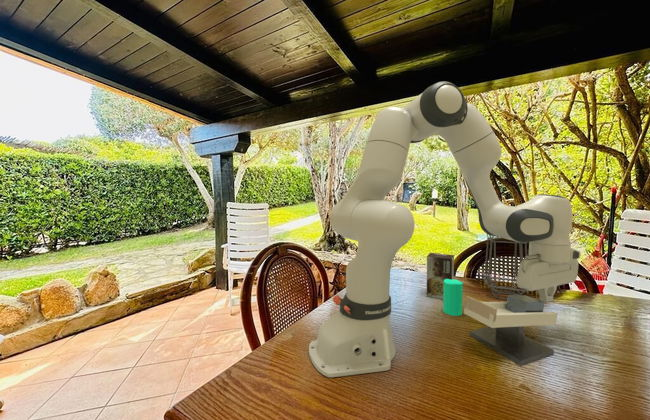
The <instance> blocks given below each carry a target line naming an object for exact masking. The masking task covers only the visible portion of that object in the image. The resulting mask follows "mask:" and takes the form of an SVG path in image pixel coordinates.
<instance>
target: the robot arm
mask: <svg viewBox="0 0 650 420" xmlns="http://www.w3.org/2000/svg"><path fill="white" fill-rule="evenodd" d="M436 135H438V136H439V137H441V138H442V139H443V140H445V143H446V145H447V147H448V149H449V151H450V153H451V154H452V156H453V159H454V160H455V162H456V164H457V166H458V167H459V169H460V171H461V174H462V176H463V180H464V181H465V185H466V187H467V188H468V191H469V192H470V193H469V194H470V196H471V198H472V199H473V201H474V204H475V207H476V209H477V213H478V222H479V223H478V224H479V226H480V228H481V230H482V231H483V232H484V233H485V234H486V235H487V234H488V236H489V235H491V237H492V236H494V237H498V238H505V239H506V240H509V241H511V242H515V241H516V242H528V254H527V256H526V257H523V260H522V262H521V263H520V262H519V265H518V271H517V274H516V280H517V281H516V286H518V287H517V288H520V289H521V290H523V289H525V290H528V291H527V292H533V291H537V292H538V295H539V296H538V297H539V299H538V300H540V301H543V302H544V303H548V302H553V301H554V295H555V294H556V291H557V288H558V286H562V285H566V284H571V283H575V282H576V280H577V278H578V273H579V272H578V271H579V259H580V258H581V251H580V250H577V249H575V248H573V247H572V246H571V244H572V243H571V242H572V241H571V238H570V233H571V231H572V229H573V209H572V203H571V201H570V200H569V199H568V198H567V197H565V196H561V195H556V194H547V193H545V194H544V193H539V194H535V195H534V196H533V197H532V198H531V199H529V200H527V201H525V202H524V203H521V204H518V205H516V206H512V205H506V204H504V202H502V201H501V200H500V198H499V197H498V194H497V193H496V190H495V187H494V185H493V184H492V181H491V172H492V170H493V169H494V168H495V167H496V166H497V164H498V163H499V161H500V159H501V157H502V148H501V145H500V141H499V139H498V137H497V135H496V134H495V131H494V130H493V129H492V127H491V125H490V123H489V122H488V121H487V119H486V117H484V115H483V114H482V113H481V111H479V109H478V108H477V107H476V106H475V105H474V104H472V103H471V102H467V99H466V98H465V95H464V93H463V91H461V89H460V88H459V87H458V86H456V85H455V84H454V83H452V82H450V81H445V80H443V81H438V82H436V83H434V84H432V85H430V86H428V87H427V88H425V90H424V91H423V92H422V93H420V94H418V96H417V97H414V98H413V100H412V99H411V101H410V102H409V103H408V104H407V106H405V108H401V107H399V106H388V107H385V108H383V109H382V110H381V111H379V112H378V113H377V115H376V117H375V119H374V121H373V124H372V126H371V128H370V131H369V134H368V136H367V140H366V143H365V146H364V150H363V154H362V157H361V160H360V164H359V167H358V170H357V172H356V175H355V177H354V179H353V181H352V183H351V185H350V186H349V188H348V189H347V191H346V193H345V195H344V196H343V197H342V198H341V199H340V201H338V202H337V203H336V204H334V206H333V207H332V208H331V210H330V215H329V223H330V226H331V228H332V230H333V231H334V232H336V233H337V234H338V235H340V236H341V237H343V238H345V239H348V240H352V241H356V242H358V243H357V250H356V255H355V256H354V258H353V259H351V260H350V261H348V262H347V264H346V268H345V286H346V287H345V291H346V292H345V293H344V296H343V298H342V297H340V295H336V294H335V295H334V296H333V298H332V300H333V302H334V304H335V305H337V306H339V309H338V310H337V311H336V312H335V313H333V314H332V316H330V317H329V318H327V319H326V320H325V321H324V322H323V323H322V324H321V325H320V327H319V328H318V332H317V338H316V339H315V340H312V341H310V343H309V345H308V356H309V359H310V361H311V363H312V365H313V367H315V369H316V371H318V372H319V373H320V374H321V375H323V376H325V377H326V378H335V377H336V378H337V377H345V376H354V375H360V374H361V375H362V374H368V373H369V374H370V373H371V374H372V373H378V372H385V371H389V370H390V369H391V367H392V361H393V360H394V358H395V356H396V353H397V352H396V351H397V350H396V346H395V343H394V338H393V333H392V327H391V326H392V325H391V313H392V297H391V295H390V286H391V285H390V284H391V283H390V282H391V269H392V264H393V261H394V259H395V257H396V255H397V253H398V251H399V250H400V249H401V248H403V246H405V245H407V244H408V243H409V241H410V240H411V239H412V237H413V235H414V231H415V227H416V226H415V218H414V214H413V213H412V211H411V209H409V207H407V206H405V205H403V204H400V203H397V202H394V201H391V200H384V199H385V198H386V197H387V195H388V194H389V193H390V192H391V191H392V190H393V189H395V188H396V187H398V185H400V183H401V181H402V180H403V179H402V178H403V175H404V170H405V167H406V163H407V162H406V161H407V158H408V154H409V151H410V146H411V144H418V143H421V142H423V141H425V140H426V139H429V138H431V137H433V136H436ZM526 259H527V260H526Z"/></svg>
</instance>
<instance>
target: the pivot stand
mask: <svg viewBox="0 0 650 420" xmlns="http://www.w3.org/2000/svg"><path fill="white" fill-rule="evenodd" d="M469 336H470V337H471V338H473V339H475V340H477V341H478V342H480V343H482V344H483V345H485V346H487V347H488V348H491V349H492V350H494V351H495V352H496V353H498V354H501V355H502V356H504V357H505V358H507V359H508V360H510V361H512V362H514V363H515V364H517V365H519V366H520V367H522V366H524V365H527V364H529V363H533V362H535V361H536V362H537V361H538V360H541V359H544V358H546V357H550V356H553V355H555V354H554V353H555V349H553V348H551V347H549V346H547V345H545V344H543V343H540V342H539V341H537V340H536V339H533V338H531V337H529V336H526V335H525V326H518V327H499V328H491V327H489V326H488V325H487V326H485V327H480V328H478V329H473V330H470V331H469Z"/></svg>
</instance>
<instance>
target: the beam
mask: <svg viewBox="0 0 650 420" xmlns="http://www.w3.org/2000/svg"><path fill="white" fill-rule="evenodd" d="M464 301H465V302H464V309H463V314H465V315H466V316H469V317H471V318H472V319H474V320H476V321H478V322H479V323H482V324H483V325H485V326H487V327H488V326H489V327H491V328H499V327H518V326H524V327H532V326H553V325H556V324H557V319H558V314H559V313H558V312H554V311H543V312H529V313H513V312H511V311H509V310H506V304H507V301H480V300H477V299H476V298H474V297H471V296H465V300H464Z"/></svg>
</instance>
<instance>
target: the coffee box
mask: <svg viewBox="0 0 650 420" xmlns="http://www.w3.org/2000/svg"><path fill="white" fill-rule="evenodd" d="M453 277H455V255H454V254H448V253H447V254H446V253H437V252H429V254H427V255H426V297H428V298H432V299H433V298H434V299H440V300H443V288H444V280H445V279H453Z"/></svg>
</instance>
